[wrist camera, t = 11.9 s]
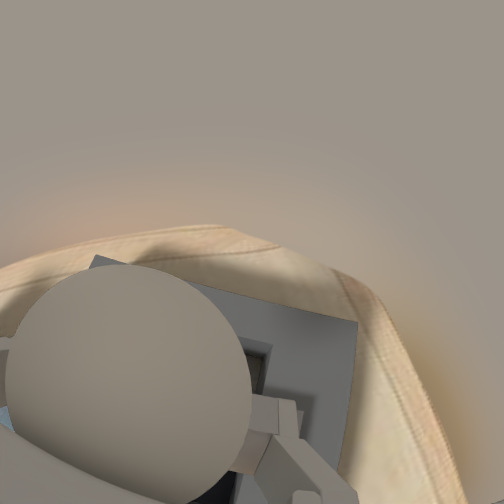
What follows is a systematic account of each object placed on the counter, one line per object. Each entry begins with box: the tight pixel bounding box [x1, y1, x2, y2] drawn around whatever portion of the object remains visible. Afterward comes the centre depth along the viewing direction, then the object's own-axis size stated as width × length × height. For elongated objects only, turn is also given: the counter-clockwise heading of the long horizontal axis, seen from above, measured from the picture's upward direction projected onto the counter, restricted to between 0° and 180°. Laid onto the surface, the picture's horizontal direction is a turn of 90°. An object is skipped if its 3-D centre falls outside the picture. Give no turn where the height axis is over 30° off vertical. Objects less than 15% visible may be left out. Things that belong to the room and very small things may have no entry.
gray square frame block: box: [89, 255, 358, 504], centre depth 22 cm, size 24×22×5 cm
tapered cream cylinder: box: [5, 264, 252, 504], centre depth 8 cm, size 5×5×8 cm
